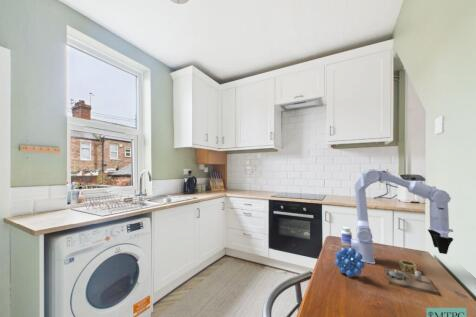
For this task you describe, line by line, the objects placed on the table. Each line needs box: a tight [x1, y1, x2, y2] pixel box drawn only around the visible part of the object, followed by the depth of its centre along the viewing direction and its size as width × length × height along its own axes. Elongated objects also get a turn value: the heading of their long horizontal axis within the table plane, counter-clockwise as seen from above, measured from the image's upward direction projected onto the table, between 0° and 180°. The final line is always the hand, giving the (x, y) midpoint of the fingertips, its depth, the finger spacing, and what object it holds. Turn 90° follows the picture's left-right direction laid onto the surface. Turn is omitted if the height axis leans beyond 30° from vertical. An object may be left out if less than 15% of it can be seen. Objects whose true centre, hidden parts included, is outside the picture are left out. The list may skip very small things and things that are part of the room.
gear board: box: [383, 267, 439, 296], centre depth 79 cm, size 14×12×4 cm
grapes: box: [334, 246, 366, 278], centre depth 83 cm, size 12×7×12 cm, turn 39°
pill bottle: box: [340, 226, 353, 247], centre depth 118 cm, size 5×5×10 cm
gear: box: [398, 259, 418, 274], centre depth 88 cm, size 6×7×3 cm
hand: (440, 250), depth 85 cm, fingers open, 7 cm apart
